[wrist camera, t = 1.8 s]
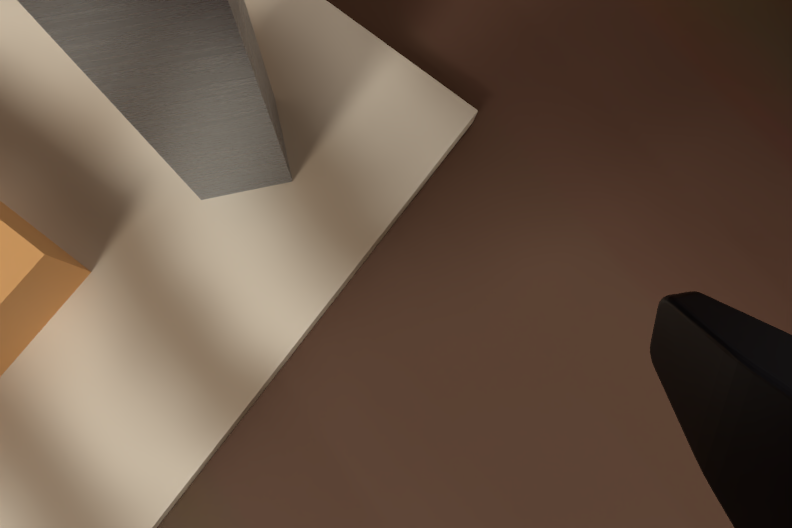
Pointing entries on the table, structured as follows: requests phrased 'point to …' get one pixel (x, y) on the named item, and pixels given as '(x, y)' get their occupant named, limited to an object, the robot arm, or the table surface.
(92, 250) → the birch board
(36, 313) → the orange collar
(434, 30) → the table surface
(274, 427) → the table surface
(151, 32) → the steel pin
